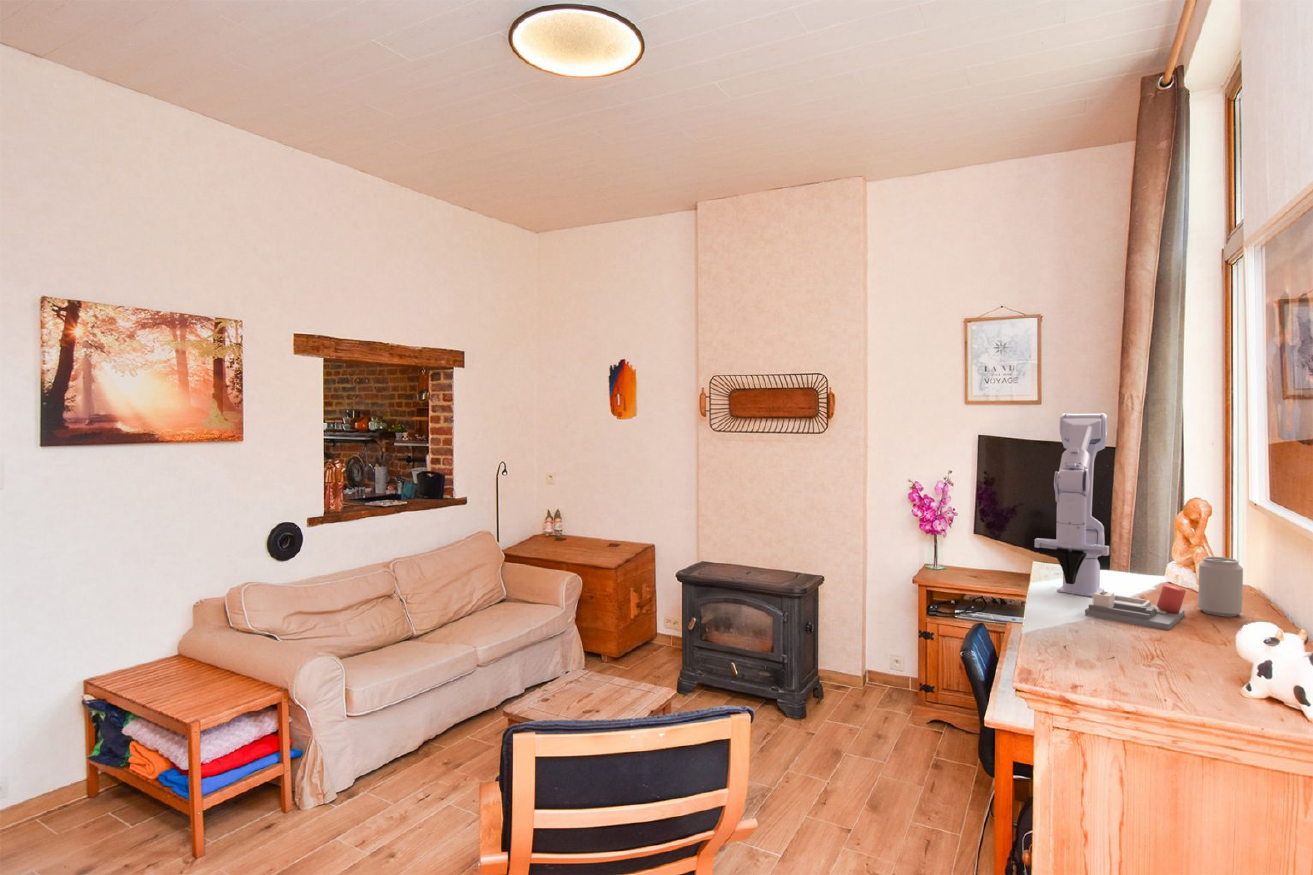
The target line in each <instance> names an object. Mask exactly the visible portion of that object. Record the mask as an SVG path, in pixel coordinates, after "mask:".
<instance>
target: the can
mask: <svg viewBox="0 0 1313 875" xmlns="http://www.w3.org/2000/svg"><path fill="white" fill-rule="evenodd" d="M1239 563H1240V561H1239V560H1238V559H1234V558H1229V557H1225V556H1224V557H1223V556H1204V557H1202V561H1201V562H1200V563H1198V596H1197V597H1198V599H1197V600H1198V603H1197V604H1198V605H1197V606H1198V608H1200V609H1201V610H1202V612H1203V613H1206V614H1209V615H1213V616H1220V617H1230V618H1231V617H1232V618H1233V617H1237V616H1238V615H1240V614H1241V613H1242V612H1243V591H1244V590H1243V587H1244V585H1243V584H1244V582H1243V580H1244V568H1243V567H1242V566H1241V565H1240V564H1239Z"/></svg>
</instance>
